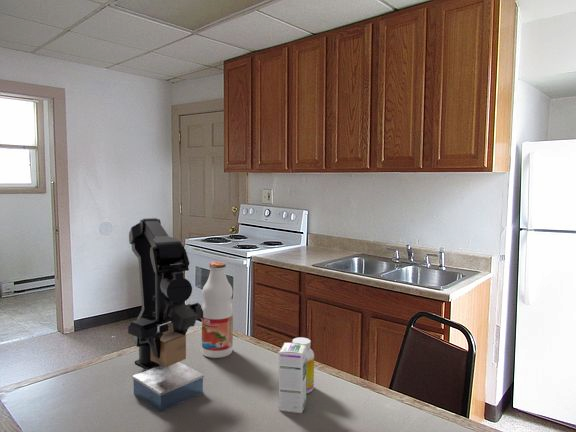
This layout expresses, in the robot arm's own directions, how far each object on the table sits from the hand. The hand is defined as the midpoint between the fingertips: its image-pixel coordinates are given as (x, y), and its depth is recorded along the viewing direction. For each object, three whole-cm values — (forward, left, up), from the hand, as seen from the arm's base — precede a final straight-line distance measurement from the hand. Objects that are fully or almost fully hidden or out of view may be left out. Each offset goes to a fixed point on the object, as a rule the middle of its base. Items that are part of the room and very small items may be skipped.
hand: (168, 353), depth 105 cm
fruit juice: (-8, +25, -10) cm, 28 cm away
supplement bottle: (+25, +22, -10) cm, 35 cm away
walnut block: (0, 0, -2) cm, 2 cm away
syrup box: (+28, +14, -10) cm, 33 cm away
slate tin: (0, 0, -11) cm, 11 cm away
